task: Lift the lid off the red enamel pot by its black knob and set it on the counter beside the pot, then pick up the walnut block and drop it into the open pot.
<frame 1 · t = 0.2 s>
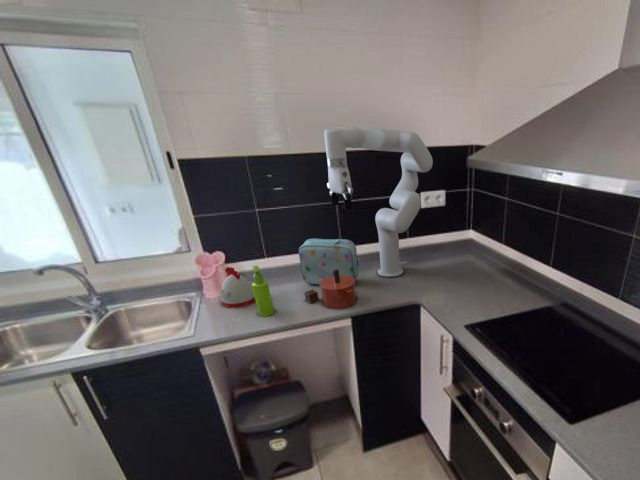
hand: (341, 207, 158), 37 cm above the worktop, tool pointing down, fingers open, 9 cm apart
kitchen timer: (240, 300, 165), on the worktop
lunch box: (333, 282, 180), on the worktop
soap dispenser: (266, 313, 154), on the worktop
block: (312, 300, 163), on the worktop
lid: (337, 283, 158), point 8 cm above the worktop, touching pot
pot: (339, 301, 162), on the worktop
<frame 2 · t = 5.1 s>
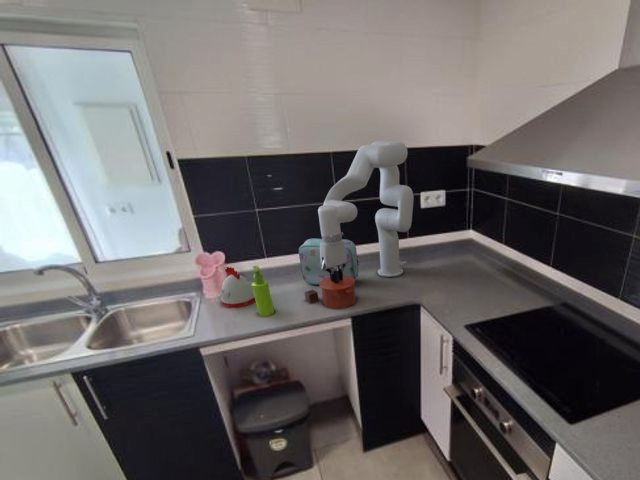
hand: (337, 280, 158), 10 cm above the worktop, tool pointing down, fingers closed on lid, 2 cm apart
lid: (337, 283, 158), point 9 cm above the worktop, touching gripper, pot
everything else where it was.
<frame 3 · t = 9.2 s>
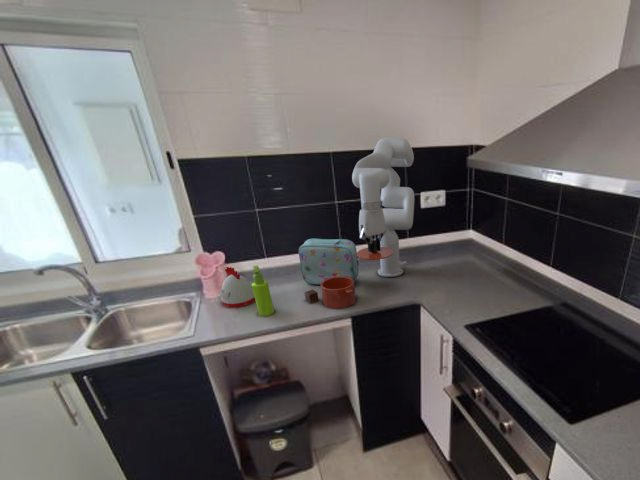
hand: (374, 250, 155), 21 cm above the worktop, tool pointing down, fingers closed on lid, 2 cm apart
lid: (374, 253, 155), point 20 cm above the worktop, touching gripper
everything else where it was.
when the fingers open (2 cm above the worktop, at t = 13.5 s): lid stays where it is, point 1 cm above the worktop.
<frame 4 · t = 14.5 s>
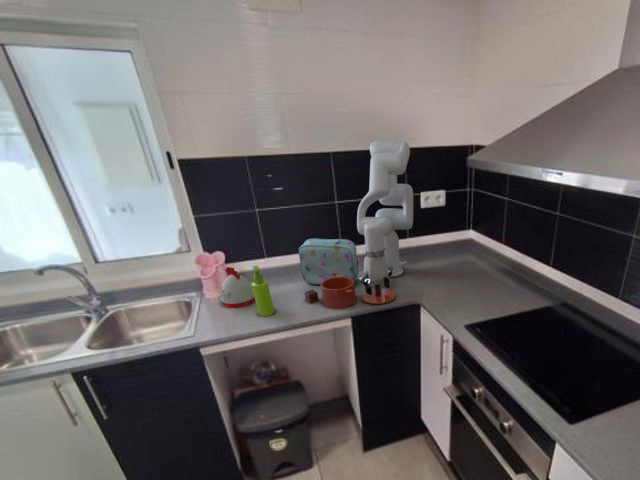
hand: (378, 290, 164), 3 cm above the worktop, tool pointing down, fingers open, 9 cm apart
lid: (378, 296, 165), point 1 cm above the worktop
everything else where it was.
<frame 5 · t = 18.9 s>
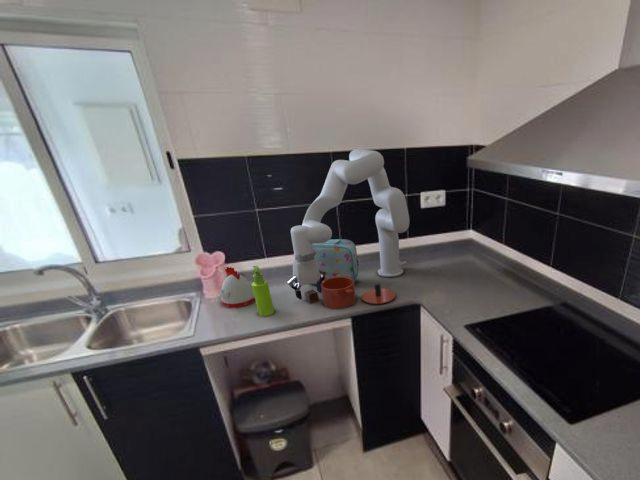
hand: (309, 295, 162), 3 cm above the worktop, tool pointing down, fingers open, 9 cm apart
nothing on the worktop moved.
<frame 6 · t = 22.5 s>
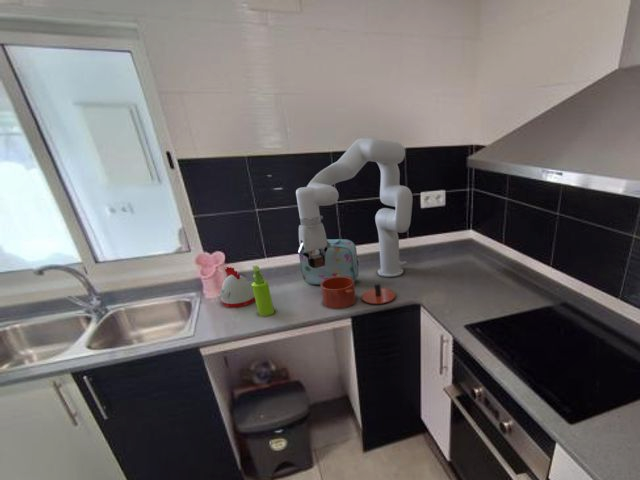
hand: (317, 265, 155), 16 cm above the worktop, tool pointing down, fingers closed on block, 4 cm apart
block: (317, 265, 155), point 16 cm above the worktop, touching gripper
everything else where it was.
when the fingers open (8 cm above the worktop, at t = 25.0 s): block drops 7 cm, resting on pot.
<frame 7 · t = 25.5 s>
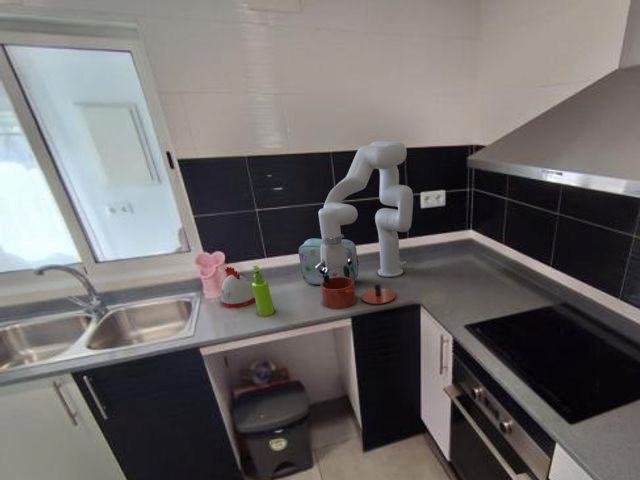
hand: (337, 280, 158), 10 cm above the worktop, tool pointing down, fingers open, 9 cm apart
block: (339, 300, 162), resting on pot
everything else where it was.
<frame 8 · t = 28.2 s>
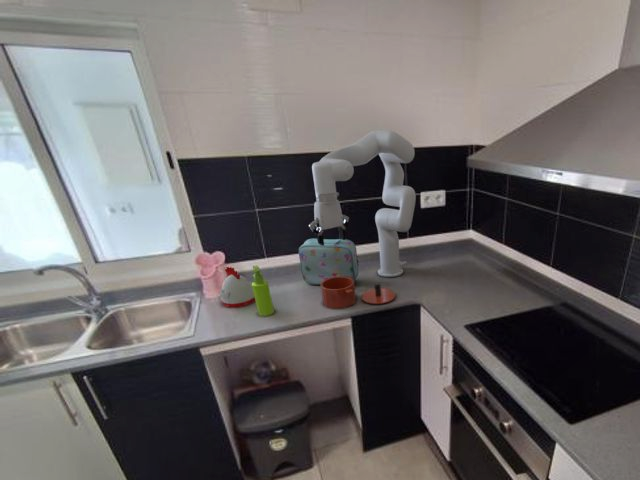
hand: (332, 241, 150), 26 cm above the worktop, tool pointing down, fingers open, 9 cm apart
nothing on the worktop moved.
at the end: lid inside the target area (0.1 cm from its centre), point 0.6 cm above the worktop; lid tilted 0°; block inside the target area in the pot (0.0 cm from its centre), point 0.5 cm above the pot's base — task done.
